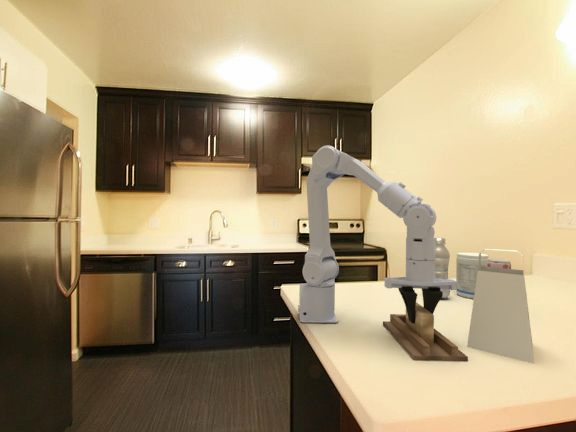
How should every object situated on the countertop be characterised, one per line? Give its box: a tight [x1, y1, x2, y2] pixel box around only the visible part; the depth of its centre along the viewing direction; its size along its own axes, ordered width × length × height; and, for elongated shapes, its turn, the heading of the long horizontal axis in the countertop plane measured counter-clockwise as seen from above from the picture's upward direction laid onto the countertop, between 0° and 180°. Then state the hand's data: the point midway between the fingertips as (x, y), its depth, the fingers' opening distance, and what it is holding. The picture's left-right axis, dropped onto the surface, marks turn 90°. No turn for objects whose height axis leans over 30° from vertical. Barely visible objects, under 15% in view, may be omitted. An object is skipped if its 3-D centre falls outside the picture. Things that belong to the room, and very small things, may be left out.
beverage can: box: [487, 257, 512, 269], centre depth 83 cm, size 6×6×15 cm
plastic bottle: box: [434, 237, 451, 299], centre depth 98 cm, size 6×7×20 cm
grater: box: [466, 248, 535, 364], centre depth 61 cm, size 10×10×20 cm
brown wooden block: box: [405, 301, 435, 345], centre depth 63 cm, size 3×9×6 cm, turn 176°
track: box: [382, 313, 469, 362], centre depth 63 cm, size 10×18×3 cm, turn 179°
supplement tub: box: [455, 251, 489, 300], centre depth 100 cm, size 10×10×15 cm
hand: (419, 322), depth 63 cm, fingers closed on brown wooden block, 3 cm apart
